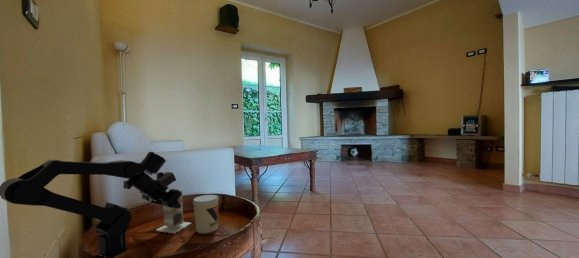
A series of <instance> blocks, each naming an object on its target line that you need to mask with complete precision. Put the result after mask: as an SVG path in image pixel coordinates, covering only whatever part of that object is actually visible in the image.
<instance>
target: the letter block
mask: <svg viewBox="0 0 579 258" xmlns="http://www.w3.org/2000/svg"><path fill="white" fill-rule="evenodd" d="M178 190H179V191H180V192H182V194H181V196H180V197H179V199H178V202H179V203H180V205H181V208H180V209H178V208H172V207H171V208H170V207H166V206H163V205H162V207H163V208H162V209H163V223H164V224H163V226H167V227H170V228H172V227H175V226H178V225H180V224H183V222H184V208H183V206H184V205H183V191H182V190H180V189H178ZM166 191H167V192H168V191H169V190H166Z"/></svg>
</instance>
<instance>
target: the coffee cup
mask: <svg viewBox="0 0 579 258" xmlns="http://www.w3.org/2000/svg"><path fill="white" fill-rule="evenodd" d="M219 200H220V199H219V196H218V195H216V194H204V195H203V194H202V195H200V196H197V197H195V198H193V201H192V204H193V213H194V220H195V227H196V228H195V229H196V232H197V233H199V234H209V233H213V232H214V231H217V229H218V227H219Z"/></svg>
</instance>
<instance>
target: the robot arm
mask: <svg viewBox="0 0 579 258" xmlns="http://www.w3.org/2000/svg"><path fill="white" fill-rule="evenodd" d="M166 161H167V160H166V158H165V157H163V156H161V155H159V154H157V153H155V152H153V151H149V152H148V153H147V154H146V156H145V157H144V158H143V160H142V161H141V162H135V161H132V160H125V159H123V160H122V159H121V160H112V161H111V160H110V161H106V162H105V161H104V162H95V161H94V162H93V161H91V162H90V161H74V160H73V161H70V160H68V161H67V160H58V159H48V160H45V162H43V163H42V164H41V165H39V166H37V167H35V168H32V169H31V170H28V171H26V172H24V173H23V174H21V175H20V176H18V177H14V178H9V179H8V180H5V181H4V182H2V183H1V184H0V185H1V186H0V196H1V198H2V200H3V201H5V202H8V203H11V204H13V205H21V206H34V207H35V206H37V207H38V206H39V207H41V206H43V207H48V208H52V209H54V210H55V209H56V210H60V211H63V212H67V213H71V214H72V213H73V214H76V215H80V216H83V217H87V218H91V219H95V220H96V221H98V222H97V223H98V224H96V225H95V227H94V231H95V232H96V234H97V235H99V236H97V241H98V243H97V245H98V252H97V254H99V255H102V256H106V257H111V258H113V257H115V256H117V255H120V254H121V253H122V252H124V251H127V250H129V246H127V240H126V239H127V238H126V233H127V229H128V227H129V224H130V222H131V221H132V214H131V213H132V212H131V211H129V210H128V209H129V208H128V207H125V206H121V205H117V204H115V203H110V202H108V201H106V203H105V205H103V206H102V205H97V204H93V203H90V202H87V201H84V200H83V201H82V200H80V199H79V200H78V199H76V198H72V197H68V196H66V195H62V194H58V193H55V192H53V191H52V190H50V189H47V188H46V187H47V186H48V185H49V184H50V183H51V182H52V181H53V180H54V179H55V178H57V177H58V176H60V175H86V176H87V175H92V176H93V175H96V176H97V175H99V176H102V175H104V176H108V177H109V176H110V177H116V178H121V179H127V180H123V182H122V183H123V189H125V190H130V189H131V188H132V187H133V188H135V189H136V190H137V191H139V193H140V194H141V199H142V200H144V201H146V202H150V203H152V204H156V205H161V206H162V207H163V206H166V207H170V208H171V207H172V208H178V209H180V208H181V205H180V203H179V202H178V199H179V197H180V196H181V194H182V195H183V191H182V192H180V191H179V190H180V189H177V188H171V189H169V186H170V185H171V184H172V183H174V182H176V181H177V178H176V176H175V174H174V172H170V171H167V172H161V171H160V170H161V168H162V167H163V166H164V164H165V163H166ZM152 175H156V179H154V178H153V177H151V176H152ZM168 189H169V190H168ZM167 191H168V192H167ZM1 198H0V199H1Z"/></svg>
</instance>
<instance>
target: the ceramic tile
mask: <svg viewBox="0 0 579 258" xmlns="http://www.w3.org/2000/svg"><path fill="white" fill-rule="evenodd" d="M190 224H191V225H192V222H188V221H183V224H180V225H178V226H175V227H172V228H170V227H167V226H164V225H163V226H161V227H159V228H156V229H155V230H156V232H161V233H167V232H168V233H169V234H177V233H179V232H180V231H182V230H184V229H186V228H187V227H189V226H190ZM188 225H189V226H188ZM183 228H184V229H183ZM181 229H182V230H181ZM176 232H177V233H176Z"/></svg>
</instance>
